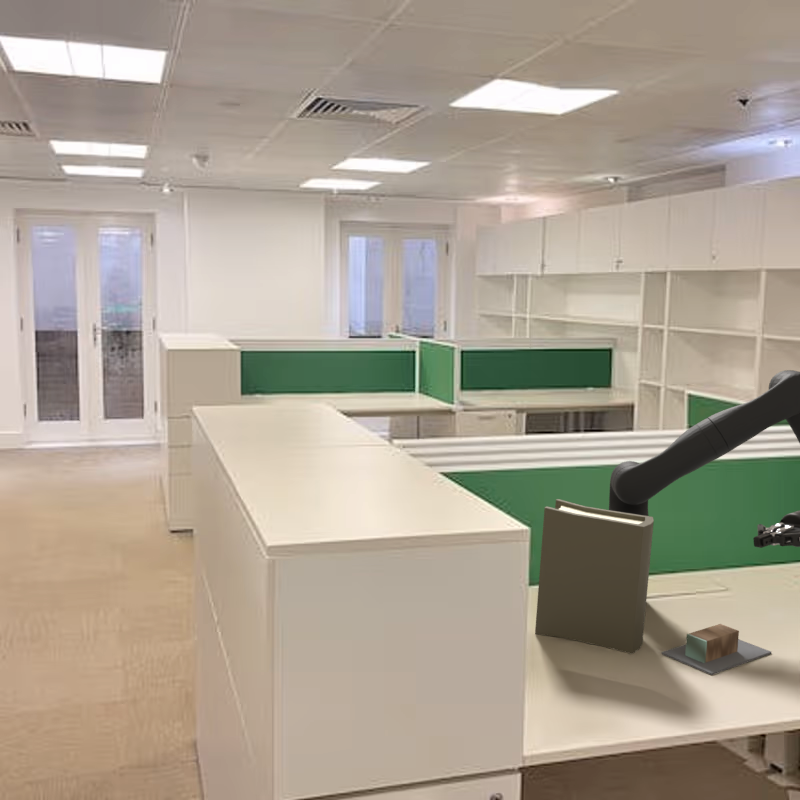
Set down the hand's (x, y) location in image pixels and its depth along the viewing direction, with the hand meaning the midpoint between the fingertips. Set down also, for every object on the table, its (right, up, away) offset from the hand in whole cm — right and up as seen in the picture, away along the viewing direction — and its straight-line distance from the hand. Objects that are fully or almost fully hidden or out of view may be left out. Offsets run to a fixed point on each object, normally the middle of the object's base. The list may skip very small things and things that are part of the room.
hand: (756, 542), depth 193 cm
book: (-35, -21, +1) cm, 41 cm away
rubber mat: (-11, -22, -6) cm, 25 cm away
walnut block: (-7, -19, -4) cm, 21 cm away
